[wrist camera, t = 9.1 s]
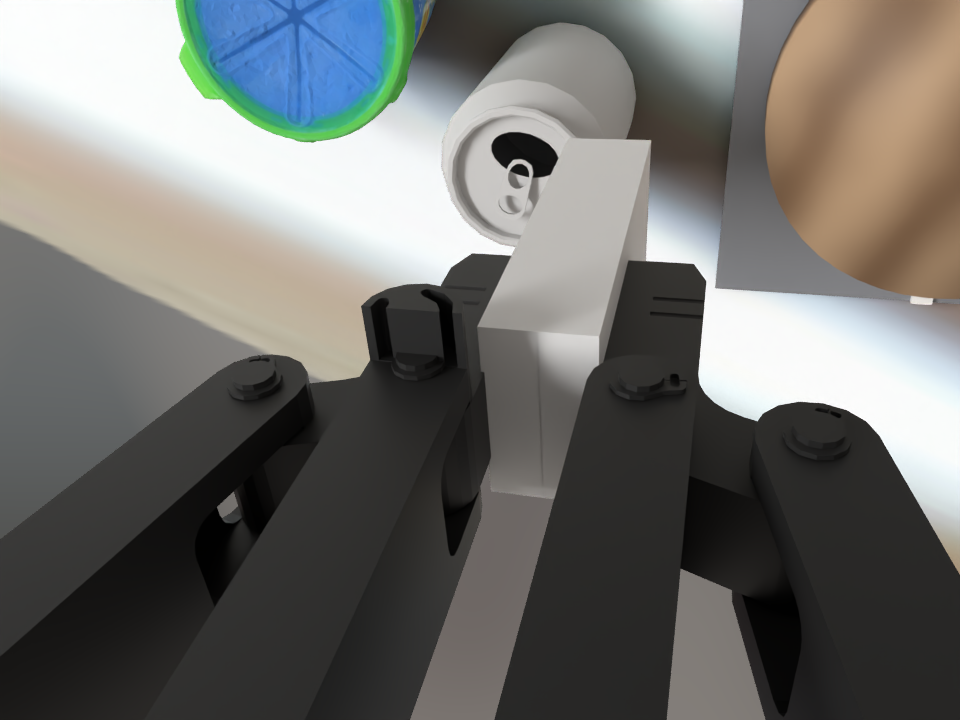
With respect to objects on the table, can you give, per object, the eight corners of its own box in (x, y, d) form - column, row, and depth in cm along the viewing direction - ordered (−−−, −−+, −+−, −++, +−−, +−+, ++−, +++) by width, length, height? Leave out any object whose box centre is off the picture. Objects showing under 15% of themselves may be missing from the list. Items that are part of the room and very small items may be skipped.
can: (658, 42, 42) (631, 125, 33) (612, 178, 47) (577, 285, 37) (514, -1, 43) (446, 68, 33) (483, 138, 47) (415, 233, 38)
